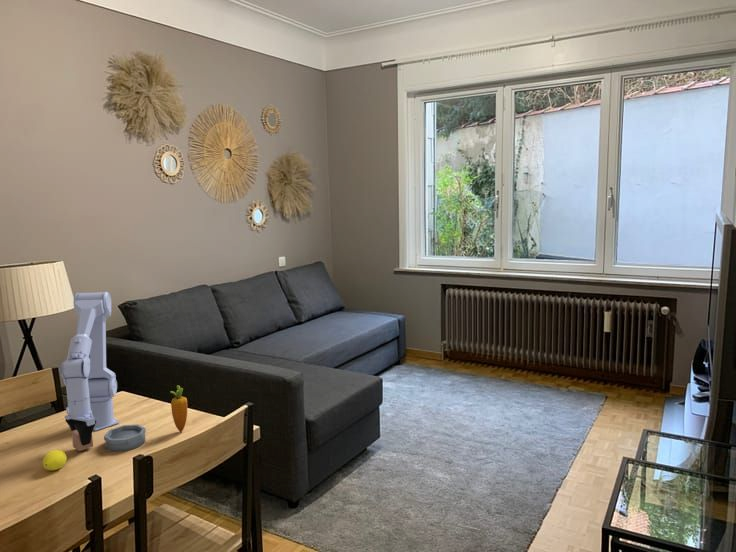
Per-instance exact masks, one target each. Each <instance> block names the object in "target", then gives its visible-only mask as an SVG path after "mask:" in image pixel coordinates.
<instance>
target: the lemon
mask: <svg viewBox="0 0 736 552" xmlns="http://www.w3.org/2000/svg"><path fill="white" fill-rule="evenodd" d="M66 462H67V455H66V453H65V451H63V450H60V449H53V450H51V451H49V452H47V453H46V454H45V455H44V457H43V459H42V466H43V467H44V469H45V470H47V471H56V470H60V469H62V467H64V466H65V464H66Z"/></svg>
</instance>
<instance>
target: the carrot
mask: <svg viewBox="0 0 736 552" xmlns="http://www.w3.org/2000/svg"><path fill="white" fill-rule="evenodd" d="M176 389H177V390H176V392H175V391H172V390H170V391H169V392H170V394H173V396H174V398H172V400H171V402H170V404H171V405H170V406H171V414H172V418H173V419H172V420H173V422H174V425H175V428H177V430H178V431H179V432H180V433H182V432H183V430H184V429H185V426H186V424H187V423H186V422H187V419H188V399H187V397H185V396H182V394H183V391H184V388H183V387H181V386H180V385H176Z"/></svg>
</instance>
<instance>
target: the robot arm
mask: <svg viewBox="0 0 736 552" xmlns="http://www.w3.org/2000/svg"><path fill="white" fill-rule="evenodd" d="M72 301H73V308H74V311H75V313H76V315H77V325H76V332H75V333H76V335H74V336H73V337H71V339H70V342H69V346H68V350H67V351H68V352H67V356H66V359H65V360H63V361H62V363H61V367H60V375H61V378H62V380H63V385H64V386H65V387H66V389H65V390H66V399H67V407H66V408H65V411H66V414H65V415H64V420H65V422H66V423H67V425H68V426H69V429H70V430H71V432H72V431H74V430H77V431H78V433H79V436H80V441H81V444H82V445H83V446H84V445H87V444H90V442H91V436H92V437H93V431H95V432H96V431H99V430H103V429H105V428H109V427H110V426H111V427H112V426H114V425H117V424H118V425H119V423H120V421H119V420H117V419H115V418H114V417H115V416H114V415H115V414H114V403H113V397H115V395H116V394H117V390H118V381H117V379H116V377H117V375H116V373H115V372H114V371H112V370H111V369H109V368H108V367H107V330H106V329H107V327H106V325H107V323H106V322H107V319H108V318H110V317H111V316H112V298H111V294H110V293H109V292H108V291H104V292H103V291H102V292H100V291H99V292H76V294H75V295H74V297H73V300H72Z"/></svg>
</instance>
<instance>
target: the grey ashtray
mask: <svg viewBox="0 0 736 552" xmlns="http://www.w3.org/2000/svg"><path fill="white" fill-rule="evenodd" d="M146 432H147V430H146V427H145V426H143V425H141V424H137V423H136V424H123V425H119V426H117V427H114V428H111V429H109V430H108V431H107V432H106V433H105V434H103V440H104V442H105V448H106V450H107V451H110V452H115V453H117V452H118V453H119V452H121V453H122V452H128V451H131V450H135V449H136V448H140V447H141V446H143V445H144V444H145V442H146Z"/></svg>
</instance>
